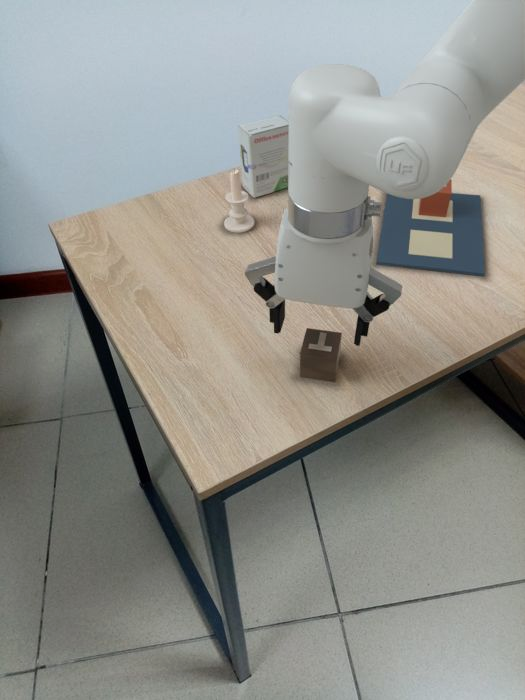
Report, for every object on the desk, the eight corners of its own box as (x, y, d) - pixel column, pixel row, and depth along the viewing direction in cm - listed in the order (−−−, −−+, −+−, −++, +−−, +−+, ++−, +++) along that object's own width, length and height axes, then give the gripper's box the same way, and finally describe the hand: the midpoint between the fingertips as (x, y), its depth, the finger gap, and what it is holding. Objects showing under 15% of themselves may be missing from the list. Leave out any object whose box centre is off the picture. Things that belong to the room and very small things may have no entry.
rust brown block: (446, 203, 92) (451, 178, 88) (445, 217, 89) (451, 192, 86) (419, 200, 93) (424, 176, 89) (418, 214, 90) (423, 190, 86)
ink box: (253, 199, 97) (249, 136, 88) (241, 186, 100) (236, 124, 92) (294, 186, 99) (294, 123, 91) (281, 174, 102) (280, 112, 94)
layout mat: (479, 198, 94) (480, 194, 93) (483, 276, 79) (485, 272, 79) (387, 190, 97) (388, 187, 96) (375, 264, 82) (376, 260, 82)
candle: (219, 229, 91) (212, 173, 83) (232, 213, 94) (227, 158, 86) (246, 235, 89) (241, 179, 82) (259, 219, 92) (256, 163, 85)
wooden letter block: (339, 356, 70) (342, 332, 66) (334, 382, 67) (336, 358, 63) (306, 351, 71) (306, 327, 67) (299, 377, 68) (299, 352, 64)
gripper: (419, 196, 52) (393, 320, 65) (250, 180, 56) (256, 301, 68) (415, 241, 48) (388, 365, 60) (230, 220, 51) (241, 342, 63)
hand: (318, 331), depth 64 cm, fingers open, 9 cm apart
